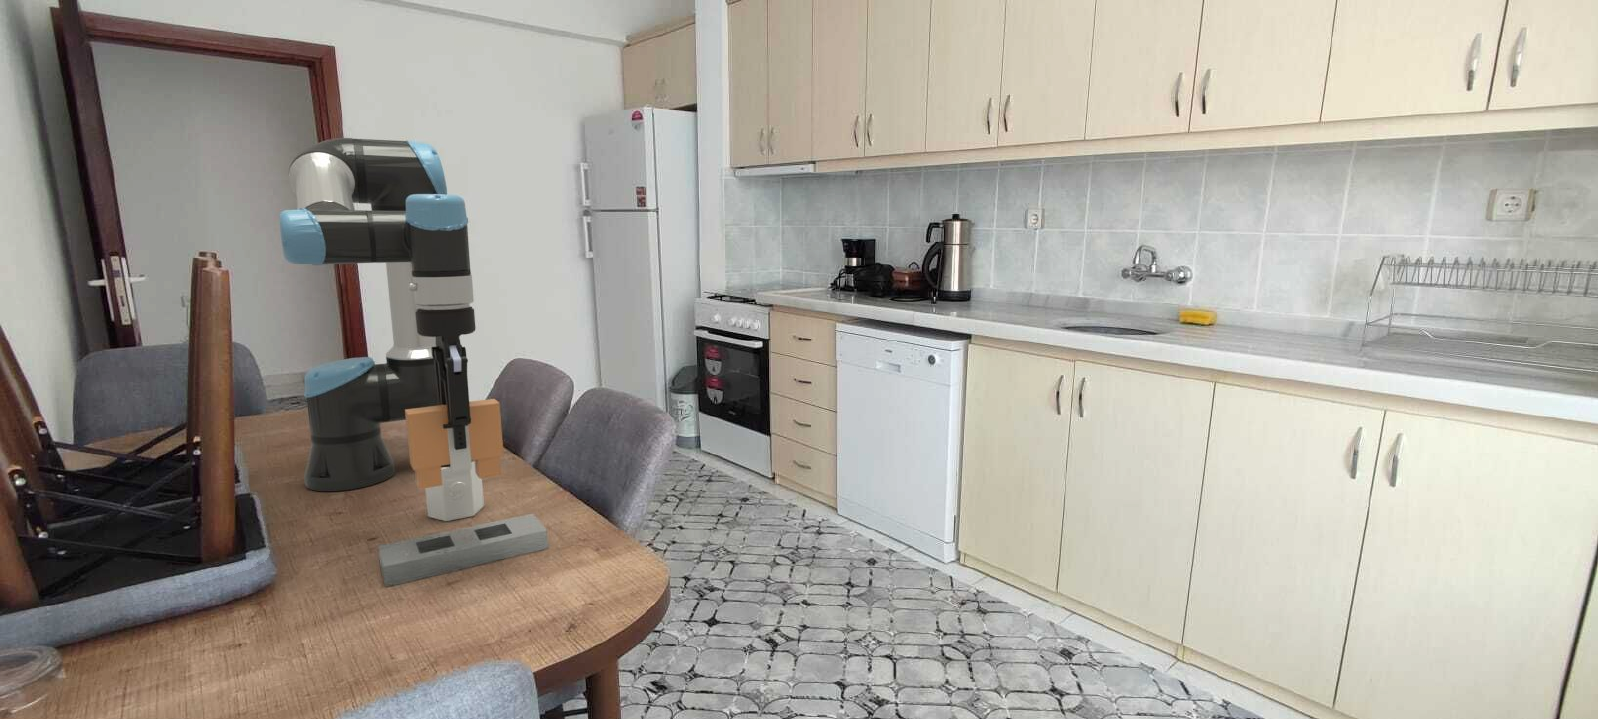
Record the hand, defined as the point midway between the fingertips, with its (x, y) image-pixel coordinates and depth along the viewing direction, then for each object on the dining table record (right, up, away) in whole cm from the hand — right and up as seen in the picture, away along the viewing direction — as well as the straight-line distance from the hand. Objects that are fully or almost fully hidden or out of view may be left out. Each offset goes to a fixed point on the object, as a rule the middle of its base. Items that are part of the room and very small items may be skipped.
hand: (458, 465), depth 108 cm
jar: (-10, -11, +20) cm, 25 cm away
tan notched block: (0, -2, 0) cm, 2 cm away
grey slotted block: (0, -14, +3) cm, 14 cm away
